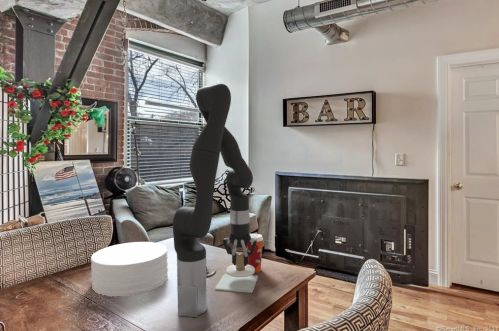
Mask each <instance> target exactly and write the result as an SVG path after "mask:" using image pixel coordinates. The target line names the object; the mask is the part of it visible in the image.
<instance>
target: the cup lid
mask: <svg viewBox="0 0 499 331" xmlns="http://www.w3.org/2000/svg"><path fill="white" fill-rule="evenodd" d="M244 256H245V255H244V251H243V252H241V251H240V252H236V265H234V264H230V265H229V266H228V267H226V269H225V270H226V271H225V272H226V273H225V274H228V275H229V276H232V277H248V276H251V275H253V276H254V274H255V273H254V272H255V268H254V267H253V266H251V265H246V266H244Z"/></svg>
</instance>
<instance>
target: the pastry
mask: <svg viewBox="0 0 499 331" xmlns="http://www.w3.org/2000/svg"><path fill="white" fill-rule="evenodd" d="M209 272H210V273H209ZM215 273H216V268H214V267H213V266H210V265H206V277H210V276H212V275H214V274H215Z"/></svg>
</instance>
